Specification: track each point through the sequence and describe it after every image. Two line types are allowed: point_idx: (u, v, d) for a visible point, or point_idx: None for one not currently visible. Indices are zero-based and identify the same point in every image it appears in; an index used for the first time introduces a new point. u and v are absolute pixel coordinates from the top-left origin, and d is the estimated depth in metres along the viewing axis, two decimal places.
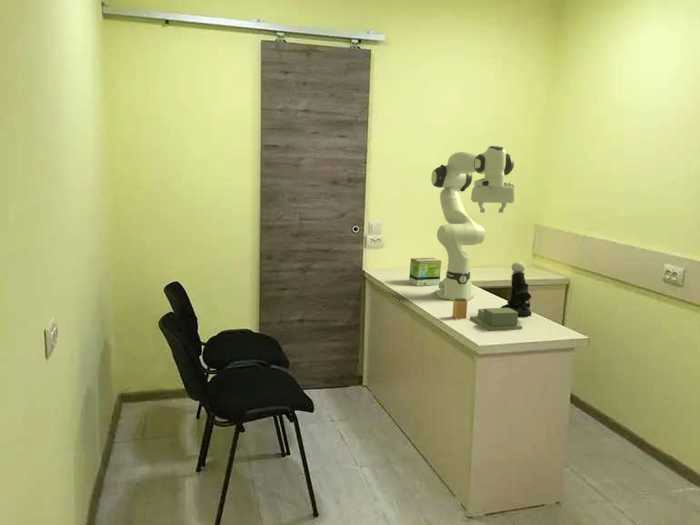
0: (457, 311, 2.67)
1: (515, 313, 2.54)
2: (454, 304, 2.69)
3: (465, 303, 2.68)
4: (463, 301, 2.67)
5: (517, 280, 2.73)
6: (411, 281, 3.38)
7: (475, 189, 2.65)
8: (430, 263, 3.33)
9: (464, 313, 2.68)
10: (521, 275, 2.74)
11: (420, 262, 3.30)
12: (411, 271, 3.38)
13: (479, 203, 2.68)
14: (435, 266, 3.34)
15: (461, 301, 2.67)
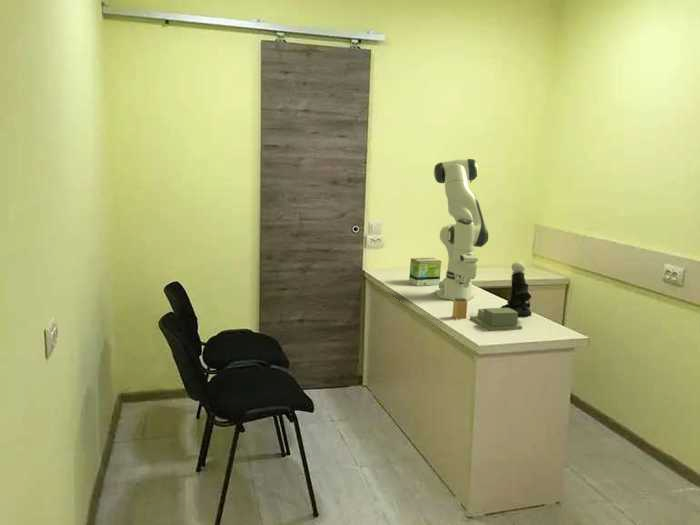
0: (457, 311, 2.67)
1: (515, 313, 2.54)
2: (454, 304, 2.69)
3: (465, 303, 2.68)
4: (463, 301, 2.67)
5: (517, 280, 2.73)
6: (411, 281, 3.38)
7: (474, 266, 2.57)
8: (430, 263, 3.33)
9: (464, 313, 2.68)
10: (521, 275, 2.74)
11: (420, 262, 3.30)
12: (411, 271, 3.38)
13: (468, 279, 2.61)
14: (435, 266, 3.34)
15: (461, 301, 2.67)
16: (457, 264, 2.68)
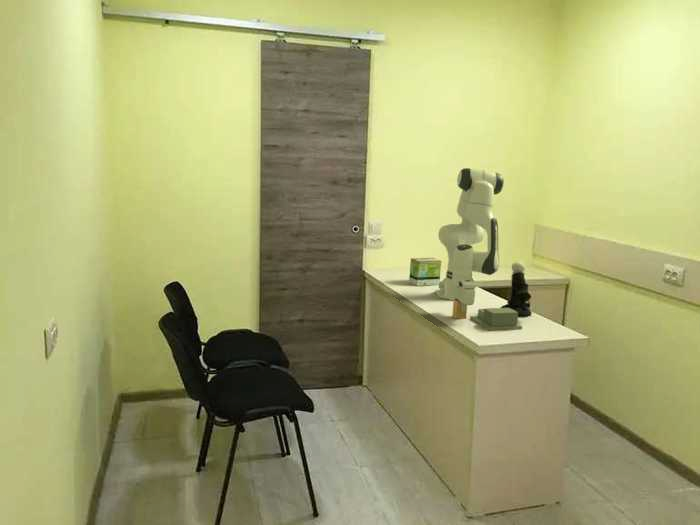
0: (457, 311, 2.67)
1: (515, 313, 2.54)
2: (454, 304, 2.69)
3: None
4: None
5: (517, 280, 2.73)
6: (411, 281, 3.38)
7: (473, 292, 2.59)
8: (430, 263, 3.33)
9: (464, 313, 2.68)
10: (521, 275, 2.74)
11: (420, 262, 3.30)
12: (411, 271, 3.38)
13: (465, 304, 2.65)
14: (435, 266, 3.34)
15: None
16: (456, 289, 2.70)
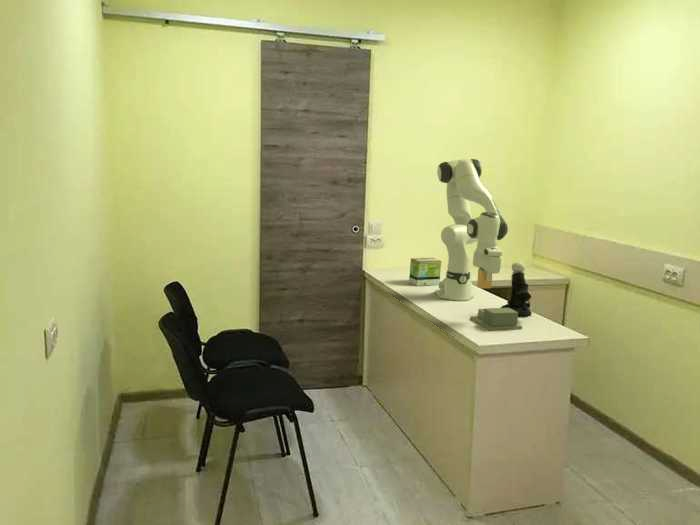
0: (482, 280, 2.61)
1: (515, 313, 2.54)
2: (479, 273, 2.63)
3: None
4: None
5: (517, 280, 2.73)
6: (411, 281, 3.38)
7: (498, 260, 2.53)
8: (430, 263, 3.33)
9: (489, 282, 2.62)
10: (521, 275, 2.74)
11: (420, 262, 3.30)
12: (411, 271, 3.38)
13: (490, 272, 2.59)
14: (435, 266, 3.34)
15: None
16: (480, 258, 2.64)
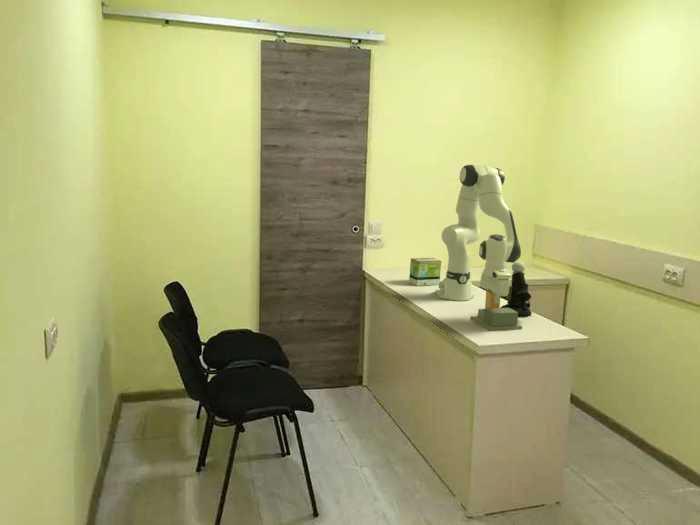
0: (491, 302, 2.62)
1: (515, 313, 2.54)
2: (487, 295, 2.64)
3: None
4: None
5: (517, 280, 2.73)
6: (411, 281, 3.38)
7: (507, 283, 2.54)
8: (430, 263, 3.33)
9: (497, 305, 2.63)
10: (521, 275, 2.74)
11: (420, 262, 3.30)
12: (411, 271, 3.38)
13: (498, 295, 2.60)
14: (435, 266, 3.34)
15: None
16: (488, 280, 2.65)
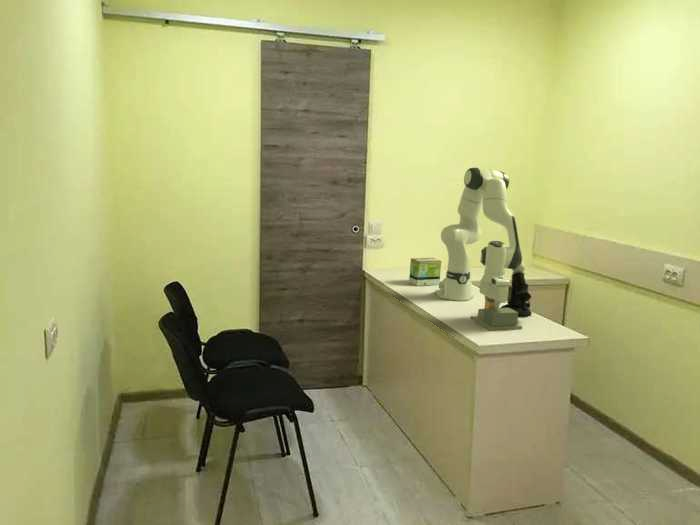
0: None
1: (515, 313, 2.54)
2: (486, 305, 2.65)
3: None
4: None
5: (517, 280, 2.73)
6: (411, 281, 3.38)
7: (506, 289, 2.55)
8: (430, 263, 3.33)
9: None
10: (521, 275, 2.74)
11: (420, 262, 3.30)
12: (411, 271, 3.38)
13: (499, 302, 2.59)
14: (435, 266, 3.34)
15: (493, 301, 2.63)
16: (487, 286, 2.65)
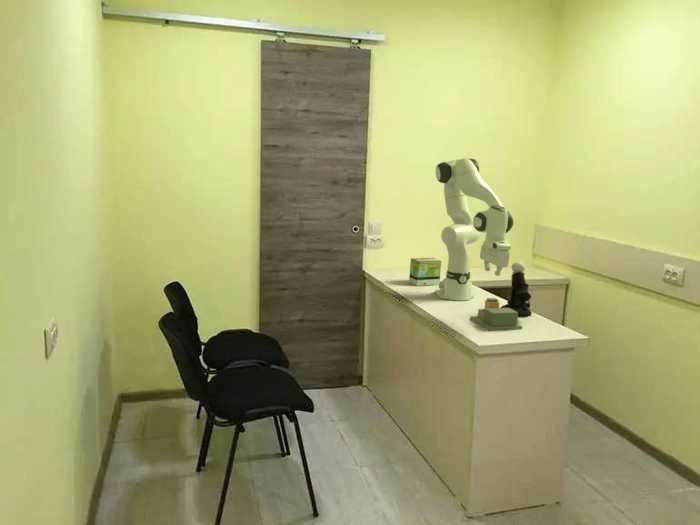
0: None
1: (515, 313, 2.54)
2: (486, 305, 2.65)
3: (497, 304, 2.63)
4: (495, 302, 2.63)
5: (517, 280, 2.73)
6: (411, 281, 3.38)
7: (507, 254, 2.53)
8: (430, 263, 3.33)
9: None
10: (521, 275, 2.74)
11: (420, 262, 3.30)
12: (411, 271, 3.38)
13: (500, 267, 2.57)
14: (435, 266, 3.34)
15: (493, 301, 2.63)
16: (488, 251, 2.64)
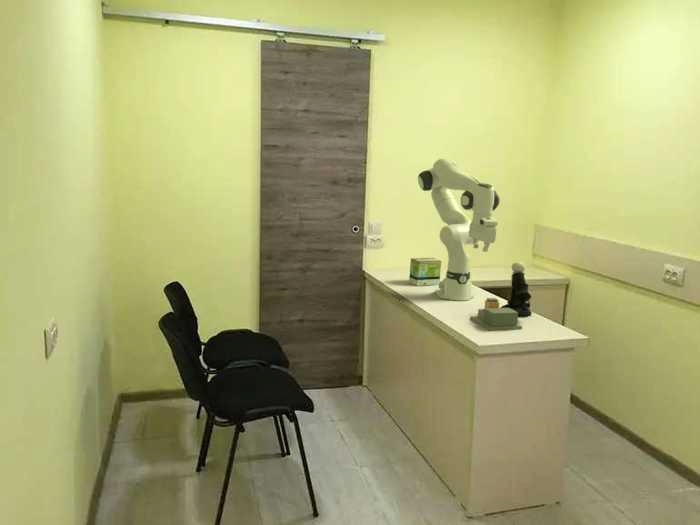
0: None
1: (515, 313, 2.54)
2: (486, 305, 2.65)
3: (497, 304, 2.63)
4: (495, 302, 2.63)
5: (517, 280, 2.73)
6: (411, 281, 3.38)
7: (494, 229, 2.58)
8: (430, 263, 3.33)
9: None
10: (521, 275, 2.74)
11: (420, 262, 3.30)
12: (411, 271, 3.38)
13: (488, 243, 2.62)
14: (435, 266, 3.34)
15: (493, 301, 2.63)
16: (476, 229, 2.69)
